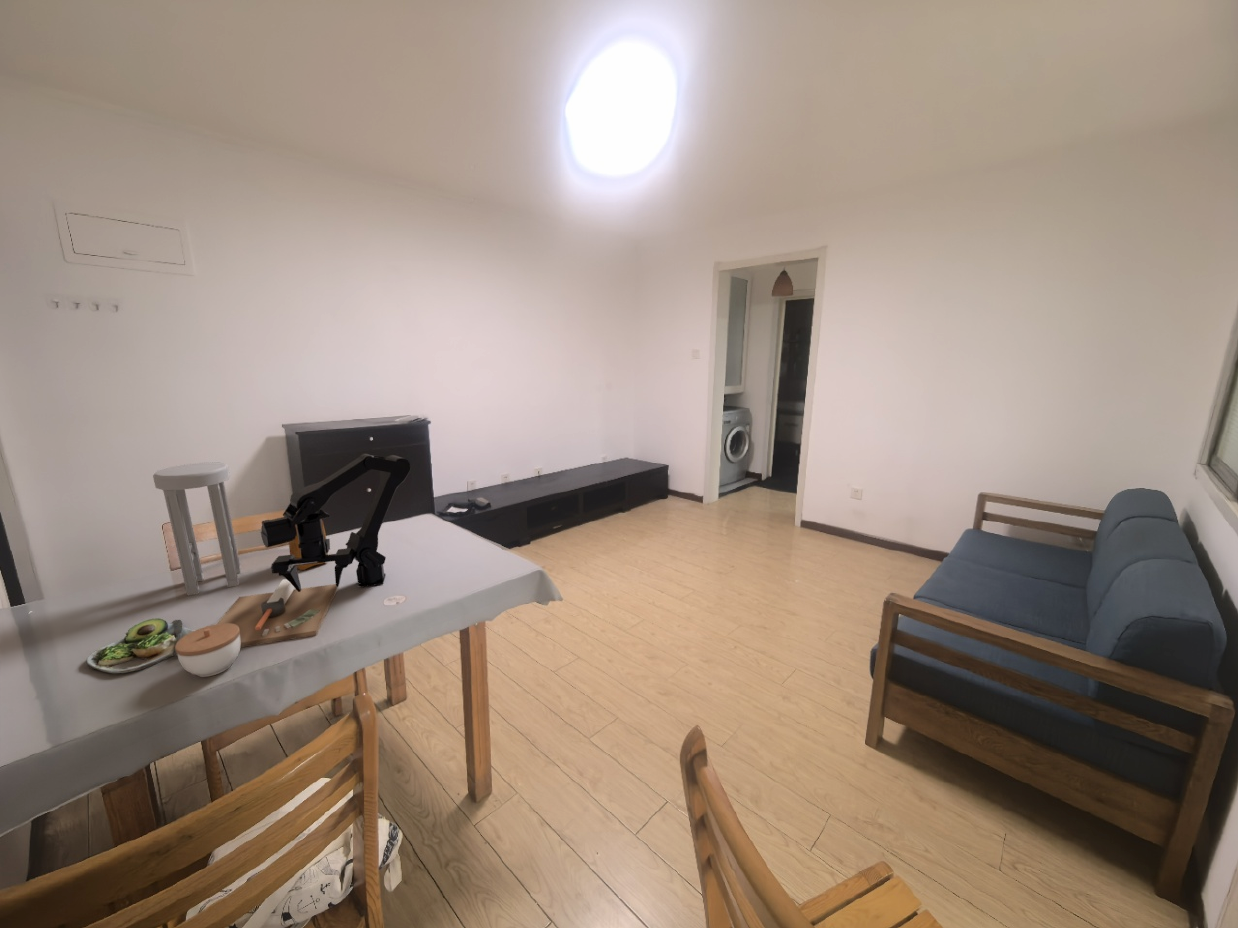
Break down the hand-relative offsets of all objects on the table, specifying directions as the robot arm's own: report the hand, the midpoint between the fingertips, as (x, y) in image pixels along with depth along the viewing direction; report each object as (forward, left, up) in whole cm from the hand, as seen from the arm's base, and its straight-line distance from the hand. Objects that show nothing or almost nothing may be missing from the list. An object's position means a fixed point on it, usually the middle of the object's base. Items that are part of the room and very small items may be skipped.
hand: (319, 588), depth 134 cm
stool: (+32, -21, -4) cm, 38 cm away
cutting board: (+9, +7, -3) cm, 12 cm away
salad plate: (+33, +13, -4) cm, 36 cm away
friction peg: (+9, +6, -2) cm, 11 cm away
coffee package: (+9, -28, -4) cm, 30 cm away
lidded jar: (+15, +26, -4) cm, 30 cm away
